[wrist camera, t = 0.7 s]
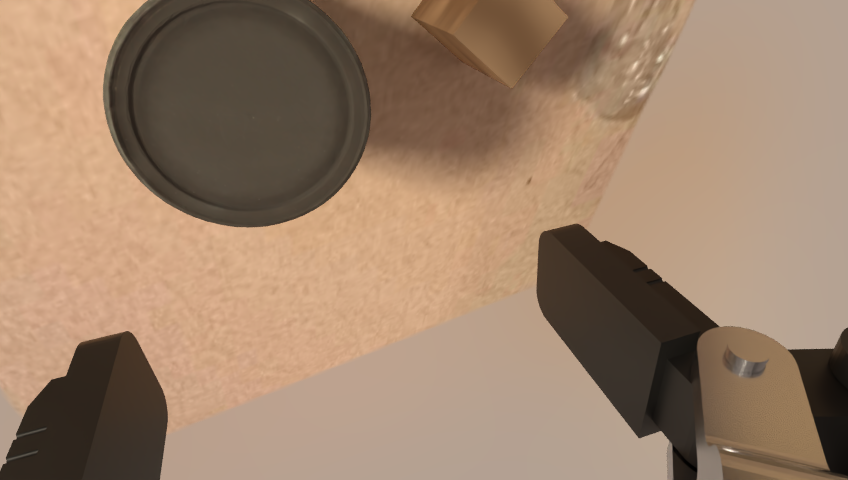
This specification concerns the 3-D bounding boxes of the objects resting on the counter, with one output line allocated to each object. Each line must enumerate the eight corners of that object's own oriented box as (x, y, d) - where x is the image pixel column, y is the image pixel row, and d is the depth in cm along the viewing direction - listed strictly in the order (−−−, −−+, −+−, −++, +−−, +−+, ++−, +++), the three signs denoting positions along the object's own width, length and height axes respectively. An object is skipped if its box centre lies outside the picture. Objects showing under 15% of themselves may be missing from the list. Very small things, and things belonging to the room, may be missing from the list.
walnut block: (457, -50, 34) (512, -46, 27) (507, 2, 36) (568, 17, 30) (411, 16, 35) (453, 34, 28) (462, 62, 38) (512, 88, 31)
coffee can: (301, -54, 31) (344, -47, 19) (338, 113, 37) (389, 195, 25) (118, -24, 29) (45, 3, 17) (187, 147, 35) (167, 255, 23)
